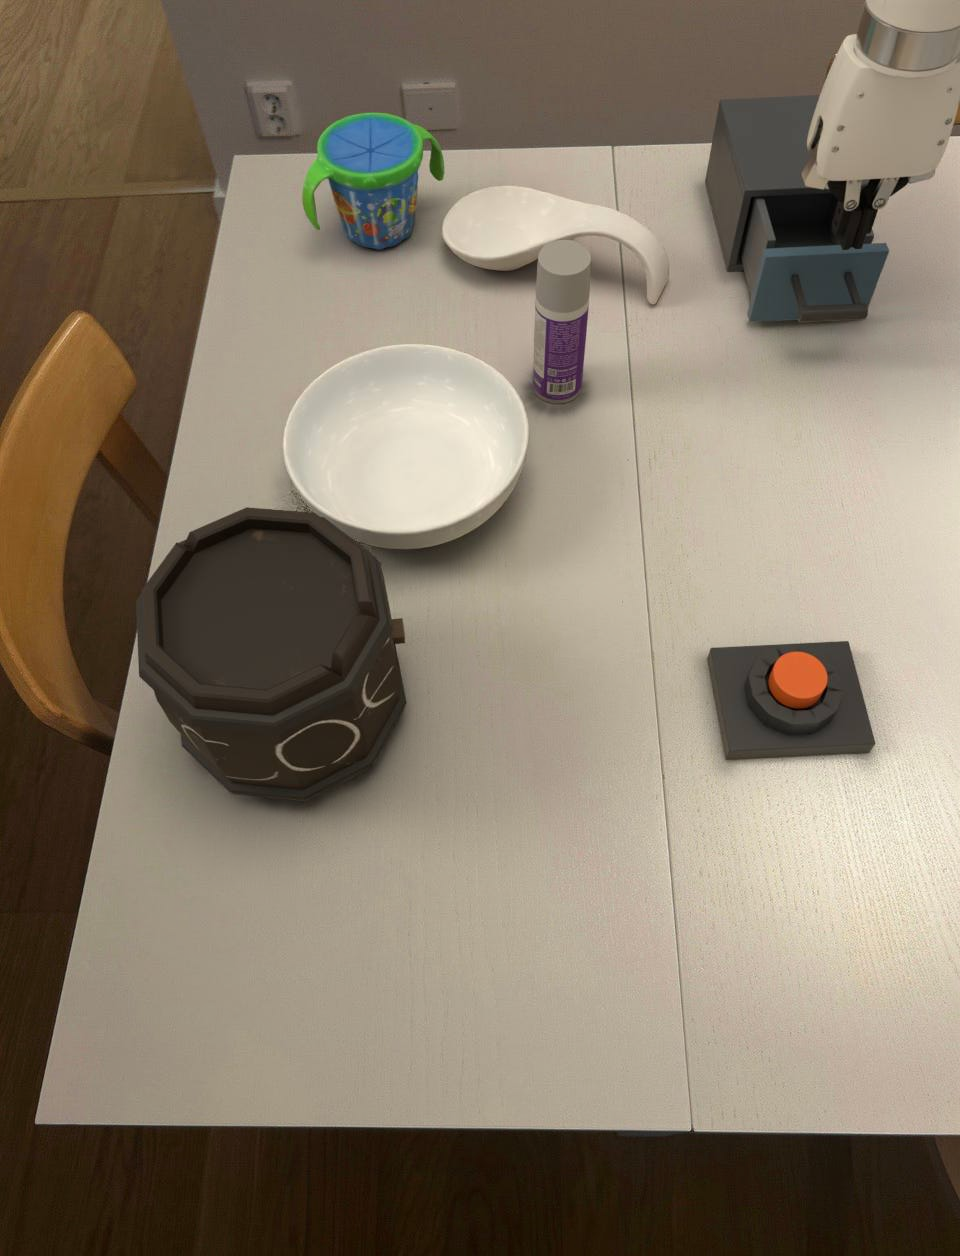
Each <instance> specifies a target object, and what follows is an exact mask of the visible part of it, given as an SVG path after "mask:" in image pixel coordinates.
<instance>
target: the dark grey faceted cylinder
mask: <svg viewBox="0 0 960 1256" xmlns="http://www.w3.org/2000/svg"><path fill="white" fill-rule="evenodd" d="M388 597H389V596H388V592H387V587H386V582H385V575H384V572H383V565H382V563H381V561H380V560H379V559H378V557H377V556H375V555H373V554H372V553H371V552H370V551H369V550H367V549H366V548H365V547H364V546H362V545H361V544H360V543H358V541H356V540H354V539H352V538H350V537H349V536H348V535H346V534H345V533H344V532H342V531H341V530H340V529H339V528H337V527H336V526H335V525H333V524H332V523H331V522H330V521H328V520H327V519H326V518H324V517H320V516H318V515H317V514H316V513H314V512H313V511H300V510H287V509H271V508H261V507H260V508H259V507H249V506H248V507H244V508H242V509H239V510H238V511H235V512H232V513H230V514H228V515H226V516H223V517H221V518H219V519H217V520H214V521H211V522H210V523H207V524H205V525H203V526H201V527H197V528H196V529H194V530H191V531H189V533H188V534H187V537H186V539H183V540H182V541H179V542H176V543H174V545H173V547H172V548H171V549H170V550H169V552H168V553H167V555H165V557H164V559H163V560H162V561H161V563H160V564H159V566H158V567H157V568H156V569H155V570H154V573H153V574H152V575H151V576H150V578H149V579H148V581H147V582H146V583H145V584H144V586H142V588H141V594H140V595H139V597H138V598H137V599H136V601H135V610H136V611H135V613H136V614H135V615H136V633H137V634H136V635H137V639H136V640H137V659H138V660H137V661H138V663H137V664H138V678H140V679H141V680H142V681H143V682H144V683H145V684H147V685H148V686H149V688H150V689H152V690H153V693H154V696H155V699H156V701H157V703H158V705H159V706H160V708H161V710H162V711H163V712H164V715H165V716H166V718H167V719H168V721H169V723H170V724H171V725H172V726H173V727H174V728H175V729H176V730H177V731H178V732H179V734H180V741H181V742H180V744H181V747H182V748H183V749H184V750H185V751H186V752H187V753H188V754H189V755H190V756H191V757H192V758H193V759H195V760H196V761H197V762H198V763H199V764H200V765H201V766H202V767H203V768H204V769H205V770H206V771H208V773H209V774H210V775H212V777H213V778H214V779H216V781H218V783H220V784H221V786H222V787H224V789H226V790H227V791H228V792H229V793H231V794H233V795H239V796H249V797H260V798H270V799H280V800H281V799H282V800H290V801H300V802H307V801H309V800H312V799H313V798H315V797H317V796H319V795H321V794H323V793H325V792H327V791H328V790H329V791H330V789H333V788H335V787H336V786H339V785H340V784H342V783H344V782H346V781H348V780H350V779H352V778H354V777H356V776H358V775H360V774H361V773H363V772H366V771H368V770H369V769H371V768H373V766H374V765H375V763H376V761H377V759H378V757H379V755H380V754H381V752H382V750H383V748H384V746H385V744H386V743H387V741H388V740H389V737H390V736H391V734H392V732H393V730H394V728H395V726H396V725H397V723H398V721H399V719H400V718H401V715H402V713H403V711H404V709H405V708H406V706H407V698H406V693H405V687H404V683H403V682H404V681H403V676H402V671H401V667H400V661H399V660H400V659H399V657H398V650H397V645H402V644H403V645H404V644H406V635H405V626H404V625H405V624H404V619H403V617H401V618H392V612H391V607H390V602H389V599H388Z"/></svg>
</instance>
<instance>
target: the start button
mask: <svg viewBox="0 0 960 1256" xmlns="http://www.w3.org/2000/svg"><path fill="white" fill-rule="evenodd" d="M827 681H828V676H827V672H826V669H825V667H824V666H823V664H822V663H821V662H820V661H819V660H818V659H817V658H815V657H814V656H812V655H810V654H807V653H804V652H790V653H786V654H784V655H782V656H781V657H780V658H779V659H778V660H777V661H776V663H775V665H774V667H773V669H772V671H771V674H770V676H769V688H770V691H771V693H772V695H773V696H774V697H775V699H776V700H777V701H779V702H780V703H781V704H783V705H785V706H787V707H790V708H795V709H803V708H807V707H810V706H812V705H814V704H815V703H816V702H817V701H818V700H819V698H820V697H821V695H822V693H823V691H824V689H825V687H826V685H827Z"/></svg>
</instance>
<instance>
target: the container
mask: <svg viewBox="0 0 960 1256" xmlns="http://www.w3.org/2000/svg"><path fill="white" fill-rule="evenodd" d="M536 267H537V270H536V283H535V284H536V285H535V298H534V299H535V300H534V327H533V328H534V331H533V332H534V333H533V336H534V337H533V359H532V360H533V361H532V362H533V364H532V365H533V366H532V389H533V392H534V394H535V395H536V396H537V397H538V398H539V399H540V400H542V401H544V402H546V403H550V404H556V405H557V404H558V405H559V404H566V403H568V402H571V401H574V400H575V399H576V398H577V397H578V396H579V395H580V393H581V391H582V386H583V376H584V367H585V366H584V364H585V355H586V354H585V353H586V341H587V332H588V331H587V330H588V319H589V310H590V309H589V308H590V291H591V290H590V289H591V269H592V254H591V251H590V250H589V248H588V247H586V246H585V245H584V244H582V243H581V242H578V241H576V240H557V241H553V242H550V243H548V244H546V245H545V246H544V247H543V248H542V249H541V250H540V252H539V254H538V259H537V266H536Z"/></svg>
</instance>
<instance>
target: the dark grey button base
mask: <svg viewBox="0 0 960 1256" xmlns="http://www.w3.org/2000/svg"><path fill="white" fill-rule="evenodd" d="M790 652H804V653H807V654H810V655H812V656H814V657H815V658H817V659H818V660H819V661H820V662H821V663H822V664H823V666H824V667H825V669H826V672H827V676H828V681H827V685H826V687H825V689H824V691H823V693H822V695H821V697H820V698H819V700H818V701H817V702H816V703H815V704H814V705H812V706H810V707H807V708H803V709H795V708H790V707H787V706H785V705H783V704H781V703H780V702H779V701H777V700H776V699H775V697H774V696H773V695H772V693H771V691H770V688H769V676H770V674H771V671H772V669H773V667H774V665H775V663H776V661H777V660H778V659H779V658H780V657H781V656H782V655H784V654H786V653H790ZM706 660H707V666H708V671H709V677H710V682H711V689H712V692H713V698H714V704H715V709H716V714H717V715H716V716H717V721H718V727H719V731H720V737H721V743H722V748H723V749H722V750H723V754H724V758H725V760H726V761H737V760H738V761H739V760H757V759H777V758H778V759H779V758H796V757H797V758H798V757H815V756H833V755H853V754H854V755H855V754H869V753H870V752H871V751H872V749H873V748H874V747H875V745H876V740H875V736H874V732H873V729H872V725H871V721H870V718H869V713H868V709H867V706H866V701H865V699H864V693H863V691H862V687H861V683H860V679H859V676H858V672H857V671H858V670H857V668H856V664H855V660H854V656H853V653H852V649H851V644H850V642H849V641H848V640H842V641H841V640H840V641H822V642H821V641H820V642H800V643H781V644H763V645H762V644H761V645H740V646H739V645H738V646H720V647H711V648H709V651H708V655H707V658H706Z"/></svg>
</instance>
